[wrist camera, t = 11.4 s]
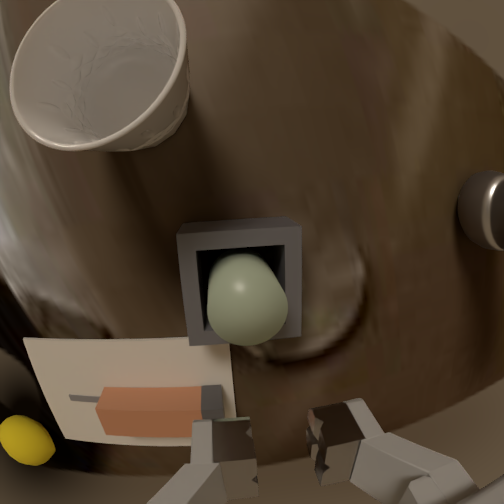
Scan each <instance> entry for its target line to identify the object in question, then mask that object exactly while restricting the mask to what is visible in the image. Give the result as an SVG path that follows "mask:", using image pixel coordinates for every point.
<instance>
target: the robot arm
mask: <svg viewBox="0 0 504 504" xmlns="http://www.w3.org/2000/svg"><path fill="white" fill-rule="evenodd" d="M307 419H308V422H309V424H310V426H309V427H308V428H307V430H306V441H307V448H308V452H309V455H310V458H311V459H312V460H314V461H316V462H315V472H316V475H317V478H318V481H319V483H320V486H325V485H330V484H335V483H339V482H344V481H348V480H350V482H351V483H353V484H354V485H356V486H357V487H359V488H360V489H361V490H363V491H365V492H366V493H367V494H369V495H370V496H372V497H373V498H375V499H376V500H378V501H379V502H381V503H383V504H504V474H503V475H502V476H500V477H499V478H497V479H496V480H494V481H493V482H491V483H489V484H488V485H487V486H485V487H483V488H481V489H479V488H478V487H477V485H476V484H475V483H474V481H473V480H472V479H471V477H470V476H469V475H468V473H467V472H466V471H465V469H464V468H463V467H462V466H461V464H460V463H459V462H458V461H457V460H456V459H453V458H451V457H448V456H445V455H443V454H440V453H438V452H435V451H433V450H430V449H427V448H425V447H423V446H420V445H417V444H415V443H413V442H411V441H408V440H406V439H403V438H401V437H399V436H397V435H394V434H392V433H390V432H389V433H384V432H383V430H382V429H381V427H380V425H379V424H378V422H377V421H376V419H375V418H374V416H373V415H372V413H371V411H370V410H369V408H368V407H367V405H366V404H365V402H364V401H363V399H361V398H357V399H353V400H349V401H344V402H340V403H336V404H331V405H326V406H320V407H315V408H310V409H309V411H308V417H307ZM258 496H259V490H258V480H257V462H256V454H255V448H254V442H253V439H252V433H251V424H250V418H249V417H239V418H222V419H207V420H193V423H192V439H191V464H184V466H183V467H182V468H181V469H180V470H179V471H178V472H177V473H176V474H175V475H174V476H173V477H172V478H171V479H170V480H169V481H168V482H167V483H166V484H165V486H163V488H162V489H161V490H160V491H159V492H158V493H157V494H156V495H155V496H154V497H153V498H152V499H151V500H150V501H149V502H148V503H147V504H226V503H227V502H228V501H227V500H232V499H241V498H251V497H258Z"/></svg>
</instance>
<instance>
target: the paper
mask: <svg viewBox="0 0 504 504" xmlns="http://www.w3.org/2000/svg"><path fill="white" fill-rule="evenodd" d="M23 341H24V344H25V347H26V349H27V352H28V355H29V358H30V361H31V363H32V366H33V368H34V371H35V374H36V376H37V379H38V381H39V383H40V386H41V388H42V391H43V393H44V395H45V397H46V400H47V402H48V404H49V406H50V408H51V410H52V413H53V415H54V417H55V419H56V421H57V423H58V425H59V427H60V429H61V431H62V433H63V435H64V436H65V438H66V439H73V440H81V441H89V442H98V443H109V444H123V445H142V446H191V439H192V437H130V436H113V435H106V434H105V432H104V429H103V427H102V425H101V422H100V420H99V418H98V415H97V413H96V410H95V407H96V405H97V403H98V400H99V398H100V396H101V393H102V391H103V389H104V387H129V388H161V387H194V386H204V385H220V384H221V386H222V394H223V402H224V410H225V418H236V409H235V399H234V389H233V379H232V368H231V357H230V346H229V344H216V345H201V346H189V339H188V337H176V338H151V339H47V338H24V339H23Z"/></svg>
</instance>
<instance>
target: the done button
mask: <svg viewBox="0 0 504 504" xmlns="http://www.w3.org/2000/svg"><path fill="white" fill-rule="evenodd" d="M287 313H288V302H287V297H286V295H285V293H284V291H283V289H282V287H281V286H280V284H279V282H278V280H277V279H276V277H275V275H274V273H273V272H272V270H271V268H270V267H269V265H268V263H267V261H266V260H265V259H264V258H263V257H262V256H261V255H260V254H259V253H257V252H255V251H253V250H250V249H246V248H235V249H231V250H228V251H226V252H224V253H222V254H221V255H220V256H219V257H218V258H217V259H216V260H215V261H214V262H213V264H212V266H211V268H210V272H209V279H208V303H207V315H208V320H209V323H210V325H211V327H212V328H213V330H214V331H215V333H216V334H217V335H218V336H220V337H221V338H222V339H224V340H225V341H227V342H229V343H232V344H235V345H240V346H252V345H257V344H260V343H263V342H265V341H267V340H269V339H270V338H272V337H273V336H274V335H276V334H277V333H278V332H279V330H280V329H281V328H282V326H283V324H284V323H285V320H286V317H287Z"/></svg>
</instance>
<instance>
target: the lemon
mask: <svg viewBox="0 0 504 504" xmlns="http://www.w3.org/2000/svg"><path fill="white" fill-rule="evenodd" d="M0 441H1V444H2V445H3V447H4V449H5V450H6V451H7V453H8V454H9V455H10V456H11V457H12V458H14V459H15V460H17V461H18V462H20V463H24V464H28V465H35V466H37V465H40V464H43V463H45V462H46V461H48V460H49V459H50V458H51V456H52V455H53V454H54V452H55V446H54V443H53V441H52V439H51V437H50V435H49V433H48V431H47V430H46V429H45V428H44V427H43V425H42V424H41V423H39V422H37V421H35V420H33V419H30V418H28V417H26V416H19V415H14V416H11V417H9V418H7V419H6V420H5V421H4V422H3V423H2V424H1V425H0Z"/></svg>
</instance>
